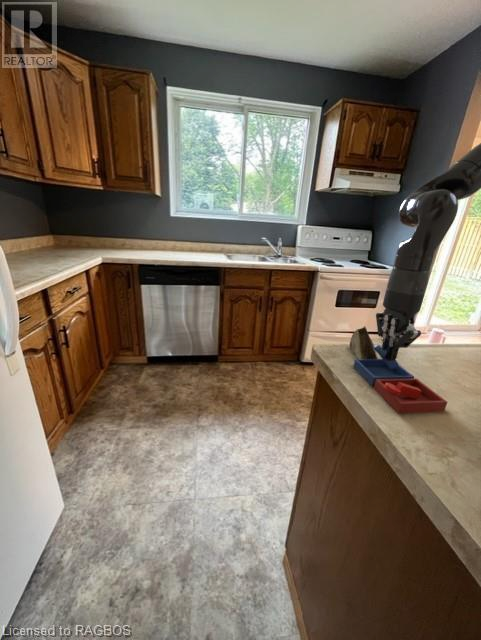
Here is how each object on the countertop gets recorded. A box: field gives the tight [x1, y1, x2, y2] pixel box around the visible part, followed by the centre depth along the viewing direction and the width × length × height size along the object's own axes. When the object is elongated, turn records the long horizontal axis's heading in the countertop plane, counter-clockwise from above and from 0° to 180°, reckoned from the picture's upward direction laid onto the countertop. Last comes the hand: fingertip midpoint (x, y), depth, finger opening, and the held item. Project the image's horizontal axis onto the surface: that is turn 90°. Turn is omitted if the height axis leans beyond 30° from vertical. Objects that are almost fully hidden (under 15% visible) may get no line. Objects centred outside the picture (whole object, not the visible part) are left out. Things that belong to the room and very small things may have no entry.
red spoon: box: [384, 382, 422, 399], centre depth 58 cm, size 8×3×2 cm, turn 96°
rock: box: [349, 325, 378, 359], centre depth 76 cm, size 11×9×10 cm
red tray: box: [373, 377, 448, 414], centre depth 59 cm, size 10×9×2 cm
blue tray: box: [353, 358, 415, 387], centre depth 68 cm, size 10×9×2 cm
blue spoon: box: [373, 343, 400, 370], centre depth 66 cm, size 8×3×2 cm
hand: (387, 357), depth 66 cm, fingers closed on blue spoon, 1 cm apart
